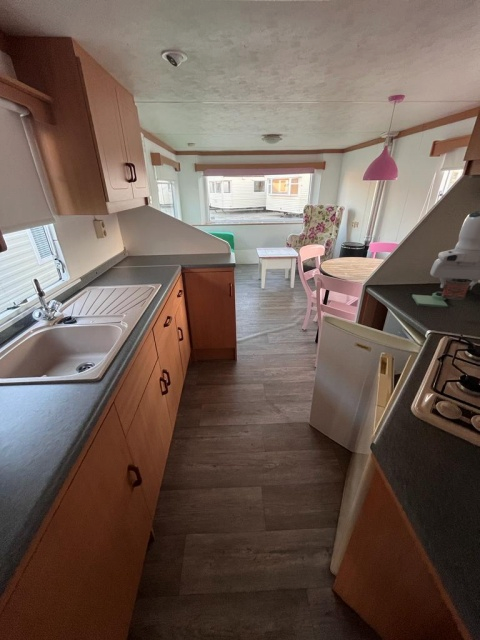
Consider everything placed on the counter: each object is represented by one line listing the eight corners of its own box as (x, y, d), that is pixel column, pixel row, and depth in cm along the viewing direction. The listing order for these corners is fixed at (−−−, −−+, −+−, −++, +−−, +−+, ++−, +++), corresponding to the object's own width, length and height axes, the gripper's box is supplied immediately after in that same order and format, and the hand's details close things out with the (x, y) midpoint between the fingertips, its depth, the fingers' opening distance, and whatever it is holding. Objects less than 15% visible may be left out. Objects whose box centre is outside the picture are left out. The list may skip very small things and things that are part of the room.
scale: (442, 298, 139) (444, 293, 138) (451, 308, 129) (453, 302, 127) (411, 296, 143) (412, 290, 142) (417, 305, 133) (419, 299, 131)
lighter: (463, 297, 112) (471, 274, 108) (465, 300, 109) (473, 277, 105) (440, 295, 115) (447, 273, 111) (441, 298, 113) (449, 275, 108)
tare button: (442, 294, 137) (443, 291, 136) (444, 297, 135) (445, 293, 134) (434, 294, 138) (435, 291, 137) (436, 296, 135) (438, 293, 135)
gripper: (494, 254, 104) (481, 287, 110) (434, 252, 110) (425, 284, 116) (503, 258, 99) (489, 292, 105) (439, 256, 104) (429, 289, 111)
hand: (455, 288), depth 111 cm, fingers closed on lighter, 7 cm apart
